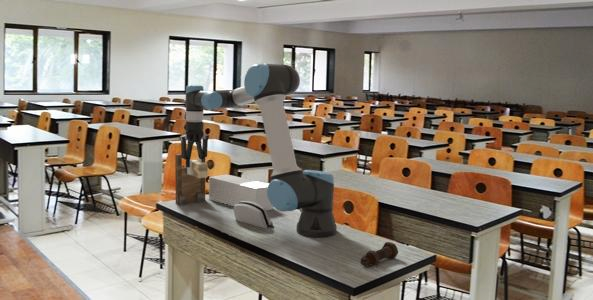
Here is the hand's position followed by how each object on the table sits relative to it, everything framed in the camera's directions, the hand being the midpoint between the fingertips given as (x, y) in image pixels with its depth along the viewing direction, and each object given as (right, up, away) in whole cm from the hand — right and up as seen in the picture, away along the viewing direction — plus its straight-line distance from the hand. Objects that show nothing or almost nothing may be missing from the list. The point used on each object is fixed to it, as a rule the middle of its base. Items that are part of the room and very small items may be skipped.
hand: (194, 173), depth 240 cm
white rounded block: (+27, -19, -25) cm, 42 cm away
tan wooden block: (+1, -1, -1) cm, 2 cm away
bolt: (+71, -26, -65) cm, 100 cm away
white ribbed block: (+20, -14, +5) cm, 25 cm away
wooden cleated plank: (-2, -13, +6) cm, 15 cm away
